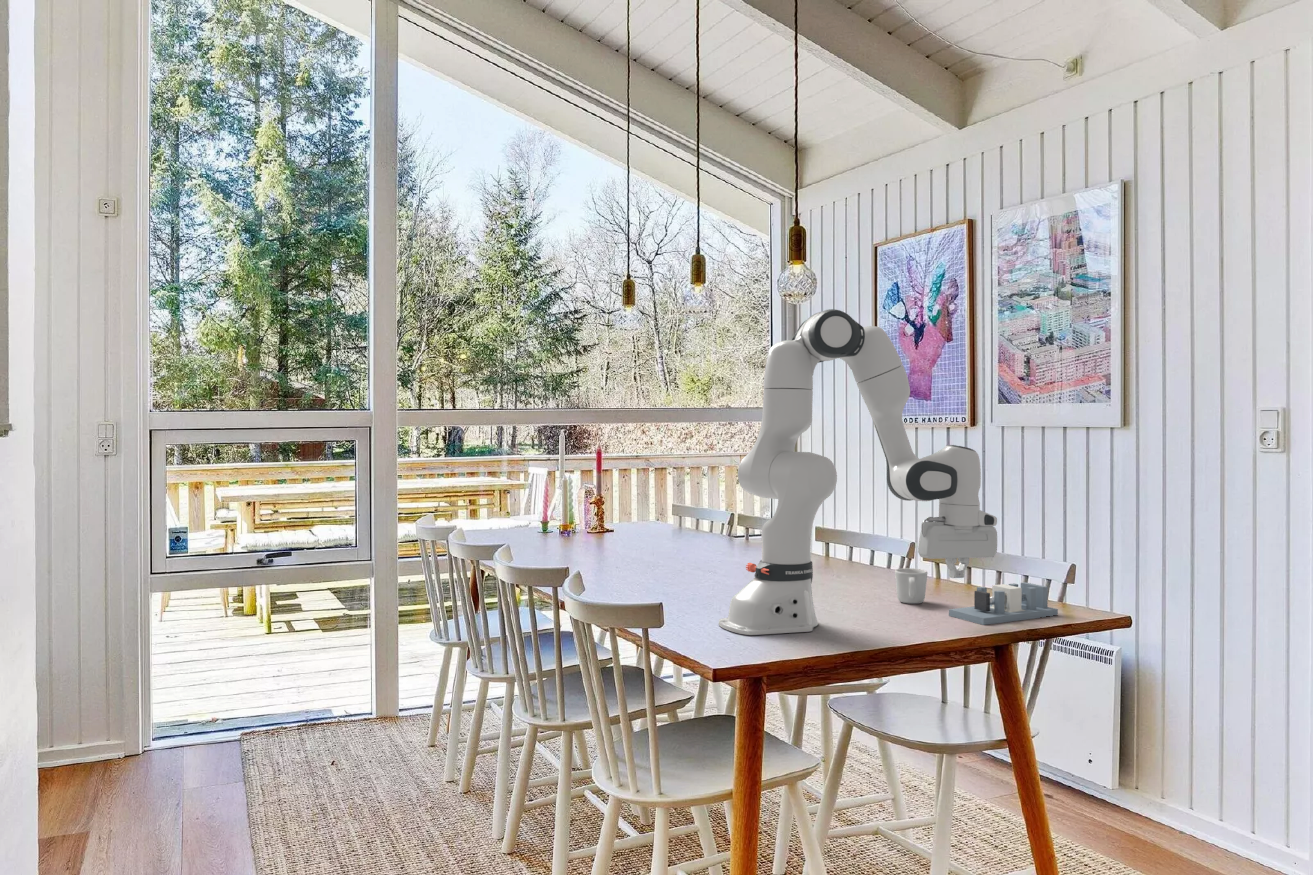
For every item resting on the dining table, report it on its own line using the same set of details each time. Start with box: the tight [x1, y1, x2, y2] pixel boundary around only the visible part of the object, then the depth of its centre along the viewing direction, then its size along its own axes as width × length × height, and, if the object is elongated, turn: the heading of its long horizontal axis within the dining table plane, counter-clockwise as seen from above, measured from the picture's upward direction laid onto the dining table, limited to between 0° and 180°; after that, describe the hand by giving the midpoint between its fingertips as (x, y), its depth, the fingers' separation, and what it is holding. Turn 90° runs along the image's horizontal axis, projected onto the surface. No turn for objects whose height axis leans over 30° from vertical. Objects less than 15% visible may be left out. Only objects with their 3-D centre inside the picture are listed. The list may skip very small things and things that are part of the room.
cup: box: [894, 567, 928, 605], centre depth 237 cm, size 11×8×8 cm
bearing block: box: [948, 581, 1059, 626], centre depth 222 cm, size 23×11×6 cm, turn 115°
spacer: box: [991, 583, 1022, 611], centre depth 222 cm, size 4×6×5 cm, turn 25°
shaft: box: [973, 590, 1026, 612], centre depth 222 cm, size 14×4×4 cm, turn 115°
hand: (956, 577), depth 215 cm, fingers closed
